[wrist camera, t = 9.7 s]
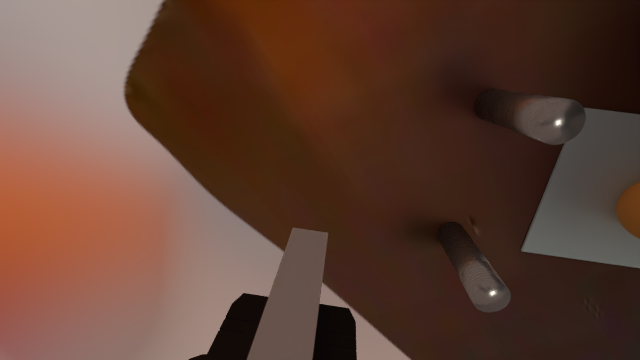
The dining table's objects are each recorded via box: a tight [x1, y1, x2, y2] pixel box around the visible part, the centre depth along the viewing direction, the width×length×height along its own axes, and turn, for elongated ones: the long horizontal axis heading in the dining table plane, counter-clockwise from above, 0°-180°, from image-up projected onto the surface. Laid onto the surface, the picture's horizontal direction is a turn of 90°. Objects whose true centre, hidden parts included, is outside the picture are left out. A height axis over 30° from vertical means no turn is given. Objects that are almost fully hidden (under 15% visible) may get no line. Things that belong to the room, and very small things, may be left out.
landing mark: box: [521, 108, 640, 268], centre depth 27 cm, size 14×14×1 cm
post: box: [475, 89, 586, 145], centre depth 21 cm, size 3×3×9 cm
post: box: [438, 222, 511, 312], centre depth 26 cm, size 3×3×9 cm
